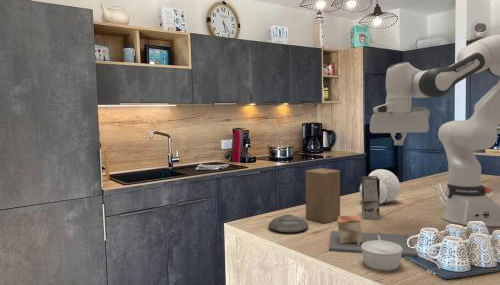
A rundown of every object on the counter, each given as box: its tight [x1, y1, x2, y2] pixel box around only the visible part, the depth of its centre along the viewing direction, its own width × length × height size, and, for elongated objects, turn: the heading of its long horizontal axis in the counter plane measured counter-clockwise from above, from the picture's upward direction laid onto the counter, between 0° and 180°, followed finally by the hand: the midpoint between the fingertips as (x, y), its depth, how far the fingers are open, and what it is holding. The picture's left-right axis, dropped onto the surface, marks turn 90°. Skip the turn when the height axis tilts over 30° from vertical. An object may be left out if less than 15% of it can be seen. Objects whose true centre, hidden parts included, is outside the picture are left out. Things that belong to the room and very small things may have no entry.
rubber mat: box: [328, 230, 419, 258], centre depth 126 cm, size 26×18×1 cm
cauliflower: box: [359, 168, 401, 205], centre depth 181 cm, size 20×18×16 cm
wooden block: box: [305, 167, 341, 224], centre depth 155 cm, size 10×10×20 cm
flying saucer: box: [268, 214, 309, 233], centre depth 144 cm, size 15×15×6 cm
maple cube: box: [337, 214, 362, 243], centre depth 127 cm, size 7×7×7 cm
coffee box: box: [361, 175, 380, 220], centre depth 158 cm, size 9×6×16 cm
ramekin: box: [361, 240, 403, 272], centre depth 108 cm, size 11×11×5 cm
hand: (398, 145), depth 141 cm, fingers closed
